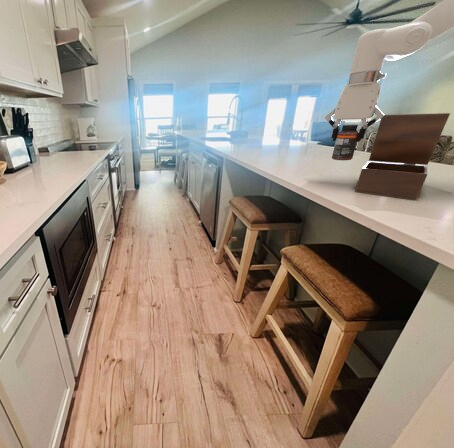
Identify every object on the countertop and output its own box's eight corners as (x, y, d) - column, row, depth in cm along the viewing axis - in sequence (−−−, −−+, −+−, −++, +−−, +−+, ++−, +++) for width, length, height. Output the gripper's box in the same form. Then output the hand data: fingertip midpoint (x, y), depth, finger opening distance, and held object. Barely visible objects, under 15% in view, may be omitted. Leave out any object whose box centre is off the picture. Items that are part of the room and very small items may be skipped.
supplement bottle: (345, 157, 87) (354, 124, 82) (356, 160, 82) (366, 124, 77) (327, 158, 88) (335, 124, 83) (337, 161, 82) (346, 125, 78)
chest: (416, 200, 69) (427, 174, 66) (354, 191, 78) (361, 168, 75) (417, 189, 78) (427, 165, 75) (361, 182, 87) (368, 161, 84)
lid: (450, 113, 66) (450, 113, 67) (382, 115, 76) (382, 114, 76) (427, 164, 75) (427, 164, 75) (368, 160, 84) (368, 160, 84)
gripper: (401, 77, 71) (380, 140, 79) (332, 83, 83) (320, 139, 90) (400, 75, 67) (378, 143, 74) (327, 82, 78) (314, 141, 85)
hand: (346, 140), depth 82 cm, fingers closed on supplement bottle, 6 cm apart
